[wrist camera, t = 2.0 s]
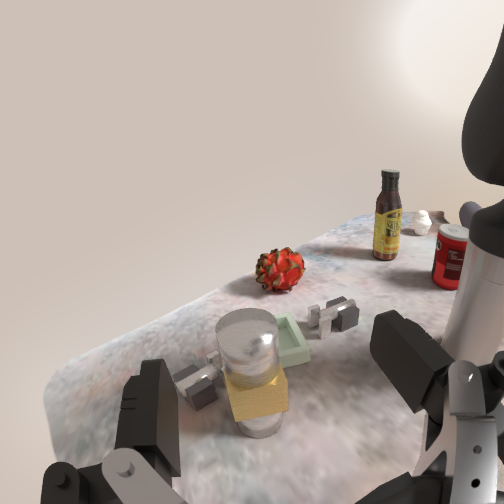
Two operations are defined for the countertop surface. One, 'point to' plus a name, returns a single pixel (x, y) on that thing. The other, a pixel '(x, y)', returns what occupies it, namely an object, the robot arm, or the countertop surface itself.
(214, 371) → the shaft
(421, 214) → the muffin
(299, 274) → the dragon fruit
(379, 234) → the sauce bottle
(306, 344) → the mint green tray
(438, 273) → the canned food
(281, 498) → the countertop surface
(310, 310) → the shaft
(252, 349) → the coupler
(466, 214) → the bluetooth speaker
